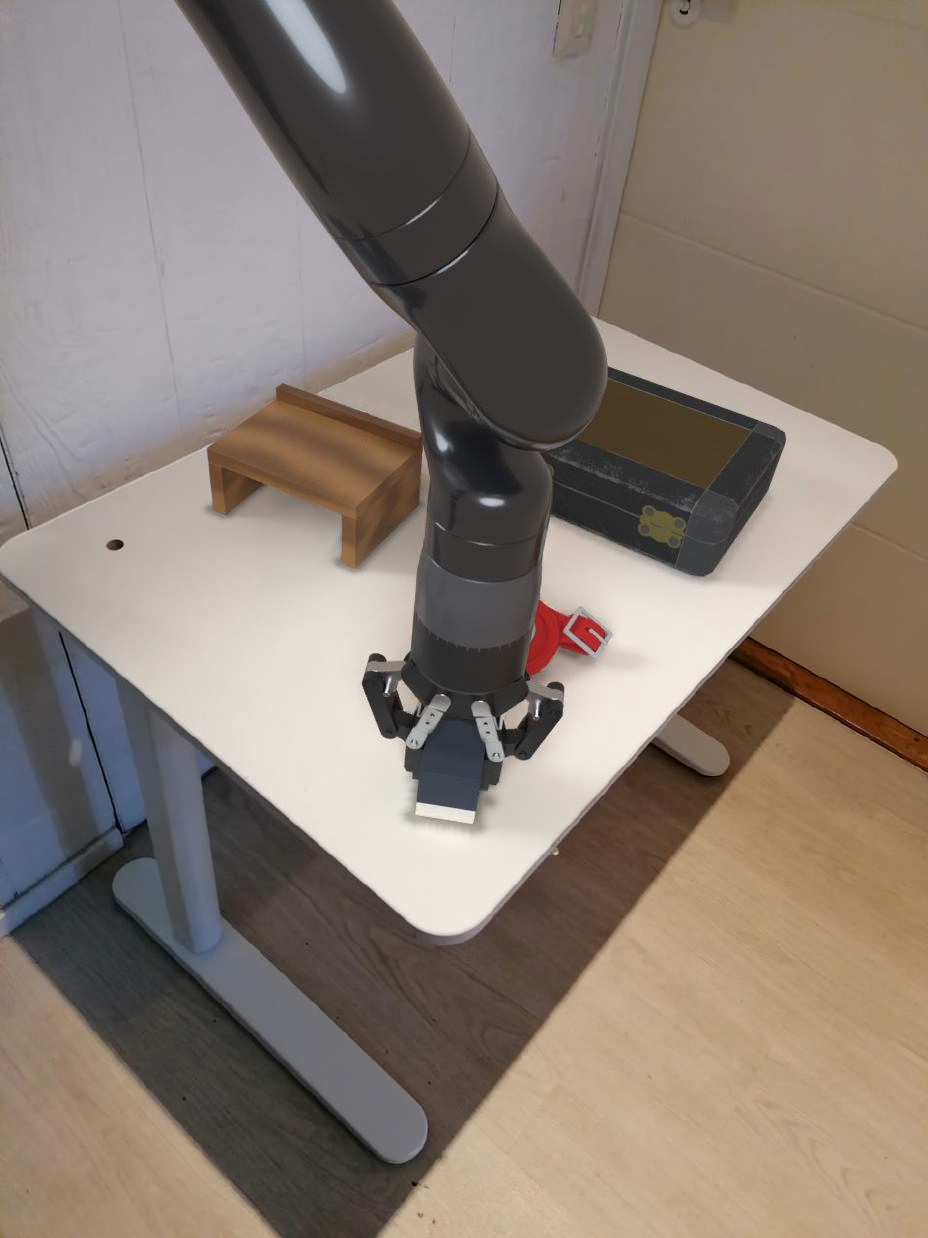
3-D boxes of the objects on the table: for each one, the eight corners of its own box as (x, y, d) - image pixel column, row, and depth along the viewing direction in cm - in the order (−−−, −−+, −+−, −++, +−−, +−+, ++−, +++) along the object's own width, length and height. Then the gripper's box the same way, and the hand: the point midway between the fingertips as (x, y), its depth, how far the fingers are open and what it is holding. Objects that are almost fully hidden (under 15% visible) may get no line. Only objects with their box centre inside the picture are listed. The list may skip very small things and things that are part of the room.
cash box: (772, 487, 105) (795, 425, 100) (705, 585, 91) (728, 519, 86) (567, 409, 113) (578, 348, 108) (478, 488, 100) (486, 423, 94)
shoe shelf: (355, 568, 89) (356, 495, 83) (212, 509, 93) (205, 436, 88) (419, 504, 97) (424, 433, 91) (285, 453, 101) (282, 382, 96)
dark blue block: (473, 824, 69) (480, 781, 65) (415, 815, 69) (419, 771, 66) (487, 725, 76) (495, 681, 72) (434, 716, 76) (439, 672, 73)
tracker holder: (485, 688, 77) (441, 589, 82) (486, 710, 81) (444, 615, 86) (623, 637, 79) (572, 543, 84) (617, 661, 83) (569, 570, 88)
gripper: (348, 624, 57) (344, 801, 68) (589, 662, 57) (545, 834, 68) (373, 547, 62) (366, 723, 74) (592, 580, 62) (551, 752, 74)
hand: (451, 775), depth 71 cm, fingers closed on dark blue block, 4 cm apart
